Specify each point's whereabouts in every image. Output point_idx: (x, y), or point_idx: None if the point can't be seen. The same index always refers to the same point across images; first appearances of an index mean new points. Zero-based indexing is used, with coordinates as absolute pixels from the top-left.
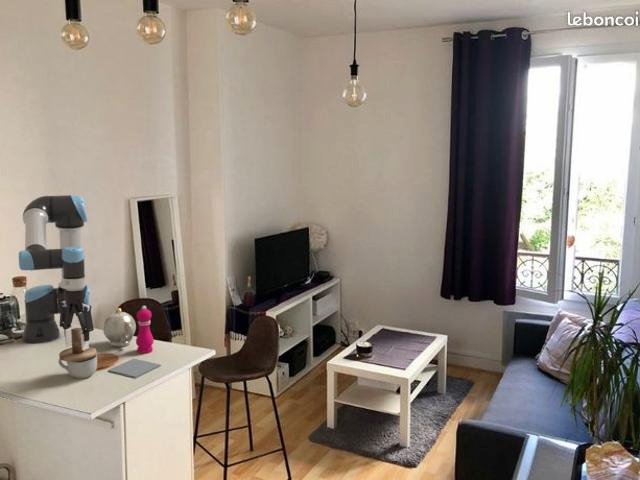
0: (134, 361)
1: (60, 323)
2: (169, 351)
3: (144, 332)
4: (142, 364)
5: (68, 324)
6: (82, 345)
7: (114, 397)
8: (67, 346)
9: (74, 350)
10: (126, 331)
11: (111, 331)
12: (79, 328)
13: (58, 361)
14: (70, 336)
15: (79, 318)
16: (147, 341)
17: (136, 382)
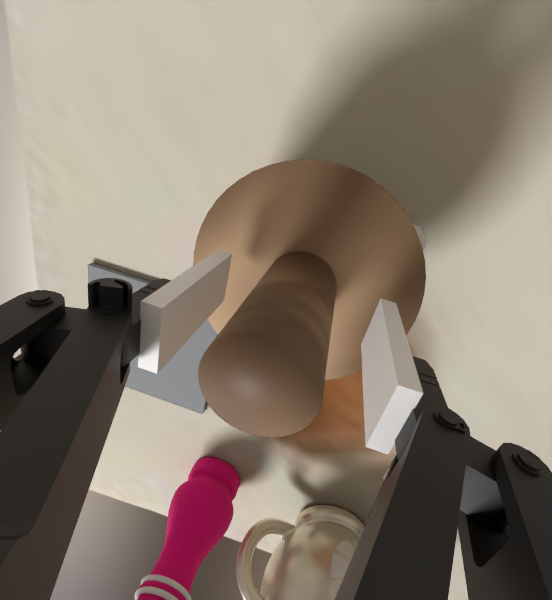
0: (183, 391)
1: (544, 492)
2: (149, 472)
3: (170, 538)
4: (142, 369)
5: (395, 468)
6: (208, 261)
7: (27, 52)
8: (380, 300)
9: (298, 258)
10: (273, 565)
11: (327, 567)
12: (253, 419)
13: (420, 228)
14: (371, 369)
15: (8, 471)
16: (175, 498)
17: (65, 227)
